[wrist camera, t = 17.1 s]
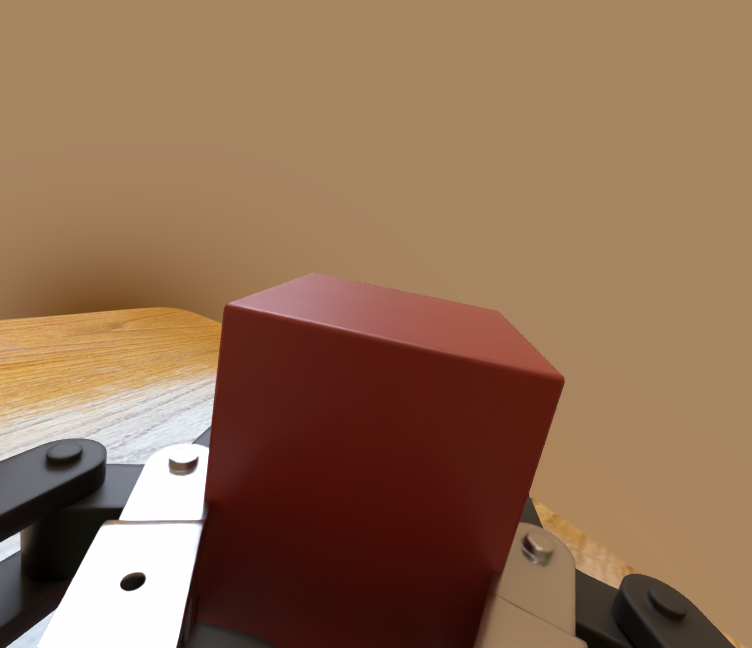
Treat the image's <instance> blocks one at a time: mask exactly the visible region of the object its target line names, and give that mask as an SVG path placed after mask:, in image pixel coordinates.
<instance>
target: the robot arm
mask: <svg viewBox="0 0 752 648" xmlns="http://www.w3.org/2000/svg"><path fill="white" fill-rule="evenodd" d="M210 433H211V426H210V427H209V428H208V429H207V430H206V431H205V432H204V433H203V434H201V435H200V436H199V437H198V438H197V439H196V440H195V441H194V442H193V443H192V444H176V445H171V446H168V447H165V448H162V449H160V450H158V451H156V452H155V453H154V454H152V455H151V456H150V457H149V459H148V460H147V462H146V464H141V465H133V464H106V456H107V452H106V448H105V447H104V446H103V445H102V444H101V443H99V442H96V441H94V440H89V439H77V438H75V439H63V440H57V441H53V442H49V443H46V444H43V445H40V446H38V447H35V448H33V449H30V450H28V451H25V452H23V453H20V454H18V455H15V456H13V457H10V458H8V459H5V460H3V461H0V542H2V541H4V540H5V539H7V538H9V537H11V536H13V535H14V534H16V533H18V532H20V537H21V550H20V551H18V552H16V553H14V554H13V555H11V556H9V557H8V558H6V559H4V560H3V561H1V562H0V648H6V647H7V646H8V645H10V644H11V643H12V642H13V641H15V640H16V639H17V638H19V637H20V636H21V635H23V634H24V633H25V632H27V631H28V630H29V629H30V628H32V627H33V626H34V625H36V624H37V623H38V622H40V621H41V620H42V619H44V618H45V617H46V616H48V615H49V614H50V613H51V612H53V611H54V610H55V609H57V608H58V609H57V610H56V612H55V614H54V616H53V618H52V620H51V622H50V624H49V626H48V627H47V629H46V631H45V633H44V635H43V637H42V639H41V641H40V643H39V644H38V646H37V648H278V647H276V646H275V645H273V644H271V643H270V642H268V641H266V640H265V639H263V638H261V637H259V636H257V635H254V634H250V633H246V632H242V631H239V630H235V629H231V628H227V627H223V626H220V625H216V624H212V623H208V622H205V621H201V620H198V621H197V617H198V608H199V600H200V595H197V589H198V580H199V572H200V565H201V558H202V552H203V547H204V541H205V536H206V531H207V526H208V520H209V511H210V502H211V500H208V499H206V498H204V489H205V480H206V470H207V461H208V452H209V443H210ZM196 622H197V623H196ZM470 648H735V647H734V646H733V645H732V644H731V643H730V642H729V641H728V639H727V638H726V637H725V636H724V635H723V634H722V633H721V632H720V631H719V630H718V629H717V628H716V627H715V626H714V625H713V624H712V623H711V622H710V621H709V620H708V619H707V617H706V616H704V615H703V613H702V612H701V611H700V610H699V609H698V608H697V607H696V606H695V605H694V604H693V603H692V602H691V601H689V600H688V599H687V598H686V597H685V596H684V595H682V594H681V593H679V592H678V591H676V590H675V589H674V588H672V587H670V586H669V585H667V584H665V583H663V582H661V581H659V580H657V579H655V578H652V577H649V576H646V575H641V574H629V575H627V576H625V577H624V578H623V580H622V582H621V585H620V587H619V589H616V588H614V587H612V586H609V585H607V584H605V583H603V582H601V581H599V580H597V579H595V578H592V577H590V576H588V575H586V574H584V573H583V572H581V571H579V570H578V569H576V568H575V560H574V557H573V555H572V553H571V551H570V550H569V549H568V547H567V546H566V545H565V544H564V543H563V542H562V541H561V540H560V539H558V538H557V537H556V536H555V535H553V534H552V533H550V532H548V531H547V530H545V529H543V527H542V524H541V522H540V519H539V517H538V515H537V512H536V510H535V507H534V505H533V503H532V500H531V498H529V494H528V497H527V500H526V503H525V506H524V509H523V512H522V516H521V519H520V522H519V525H518V528H517V531H516V534H515V537H514V540H513V543H512V546H511V549H510V553H509V556H508V559H507V562H506V565H505V568H504V571H503V572H498V571H494V570H493V572H492V575H491V579H490V582H489V585H488V588H487V591H486V595H485V598H484V602H483V606H482V609H481V613H480V617H479V620H478V624H477V627H476V631H475V634H474V637H473V641H472V644H471V647H470Z"/></svg>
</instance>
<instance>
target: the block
mask: <svg viewBox="0 0 752 648" xmlns="http://www.w3.org/2000/svg"><path fill="white" fill-rule="evenodd" d="M564 383H565V381H564V376H563V375H562V374H560V372H558V370H556V368H555V367H554V366H553V365H551V363H549V362H548V360H546V359H545V357H543V356H542V354H541V353H540V352H539V351H538V350H537V349H536V348H535V347H533V346H532V344H531V343H530V342H528V341H527V339H526V338H525V337H524V336H523V335H521V334H520V333H519V331H518V330H517V329H516V328H515V327H514V326H513V325H511V324H510V323H509V321H508V320H507V319H506V318H504V316H503V315H502V314H501V313H499V312H498V311H495V310H490V309H486V308H481V307H476V306H471V305H466V304H462V303H457V302H452V301H447V300H443V299H438V298H433V297H428V296H423V295H419V294H414V293H409V292H405V291H400V290H395V289H390V288H385V287H381V286H376V285H371V284H366V283H362V282H357V281H352V280H347V279H342V278H338V277H332V276H328V275H323V274H318V273H311V274H308V275H305V276H303V277H300V278H297V279H294V280H291V281H289V282H286V283H283V284H280V285H277V286H275V287H272V288H269V289H266V290H264V291H261V292H258V293H255V294H252V295H250V296H247V297H244V298H241V299H239V300H236V301H233V302H230V303H227V304H226V306H225V307H224V313H223V323H222V332H221V341H220V350H219V360H218V369H217V378H216V387H215V396H214V406H213V415H212V424H211V433H210V443H209V452H208V461H207V470H206V480H205V489H204V498H206V499H208V500H211V502H210V511H209V520H208V526H207V531H206V536H205V541H204V547H203V552H202V558H201V565H200V572H199V580H198V589H197V595H200V600H199V608H198V617H197V621H198V620H201V621H205V622H208V623H212V624H216V625H220V626H223V627H227V628H231V629H235V630H239V631H242V632H246V633H250V634H254V635H257V636H259V637H261V638H263V639H265V640H266V641H268V642H270V643H271V644H273V645H275V646H276V647H278V648H470V647H471V644H472V641H473V637H474V634H475V631H476V627H477V624H478V620H479V617H480V613H481V609H482V606H483V602H484V598H485V595H486V591H487V588H488V585H489V582H490V579H491V575H492V572H493V570H494V571H498V572H503V571H504V568H505V565H506V562H507V559H508V556H509V553H510V549H511V546H512V543H513V540H514V537H515V534H516V531H517V528H518V525H519V522H520V519H521V516H522V512H523V509H524V506H525V503H526V500H527V497H528V494H529V490H530V488H531V485H532V482H533V478H534V475H535V472H536V469H537V466H538V463H539V460H540V457H541V454H542V451H543V447H544V445H545V441H546V438H547V435H548V432H549V429H550V426H551V423H552V420H553V417H554V414H555V411H556V407H557V404H558V401H559V398H560V395H561V392H562V389H563V386H564ZM196 623H197V622H196Z"/></svg>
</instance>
